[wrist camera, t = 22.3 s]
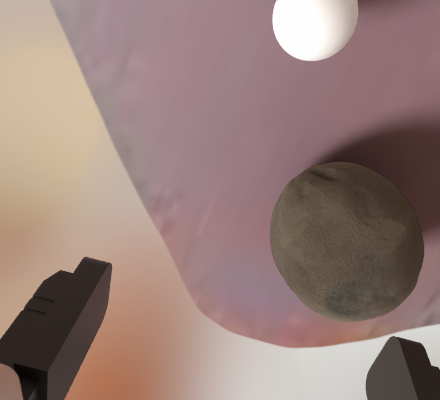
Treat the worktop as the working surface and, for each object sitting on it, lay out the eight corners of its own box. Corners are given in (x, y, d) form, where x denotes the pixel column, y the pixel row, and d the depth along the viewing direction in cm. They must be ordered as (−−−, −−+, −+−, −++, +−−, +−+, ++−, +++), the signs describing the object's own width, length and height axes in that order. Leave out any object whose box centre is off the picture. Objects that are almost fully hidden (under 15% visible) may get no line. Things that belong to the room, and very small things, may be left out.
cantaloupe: (254, 231, 50) (245, 325, 37) (296, 123, 43) (304, 192, 30) (365, 265, 50) (396, 369, 37) (425, 163, 43) (489, 249, 30)
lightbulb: (261, 25, 39) (256, 45, 29) (294, -45, 36) (300, -48, 26) (319, 54, 39) (333, 83, 30) (356, -12, 36) (384, -3, 27)
